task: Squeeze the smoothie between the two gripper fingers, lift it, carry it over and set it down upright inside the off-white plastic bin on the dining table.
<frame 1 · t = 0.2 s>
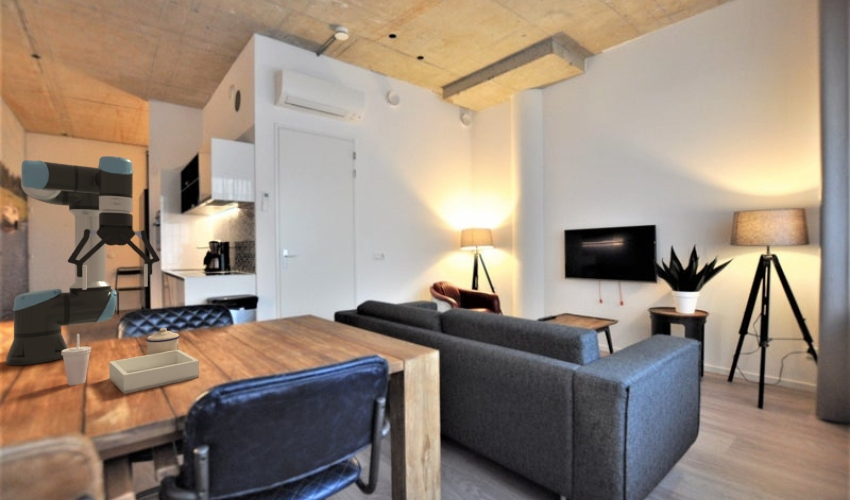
hand: (116, 287, 111), 27 cm above the table, fingers open, 13 cm apart
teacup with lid: (161, 363, 131), on the table
bin: (154, 377, 116), on the table
smoothie: (76, 383, 111), on the table
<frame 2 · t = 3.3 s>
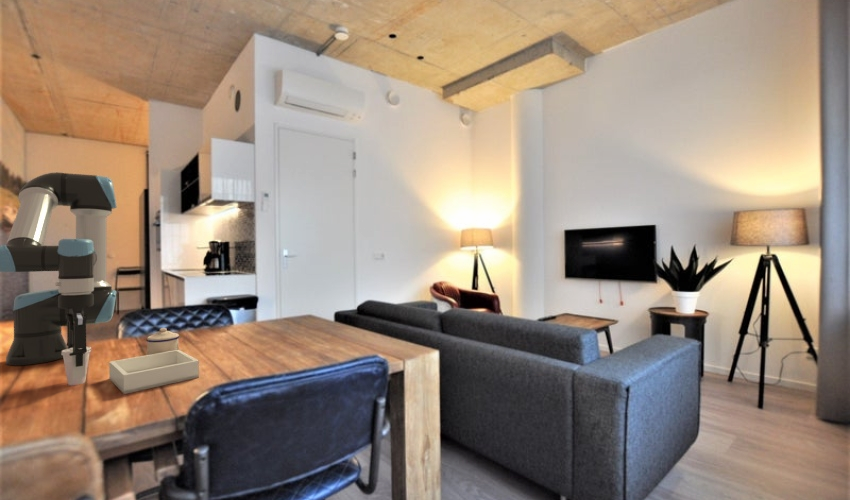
hand: (76, 374, 111), 2 cm above the table, fingers closed on smoothie, 6 cm apart
smoothie: (76, 383, 111), on the table, touching gripper
everything else where it was.
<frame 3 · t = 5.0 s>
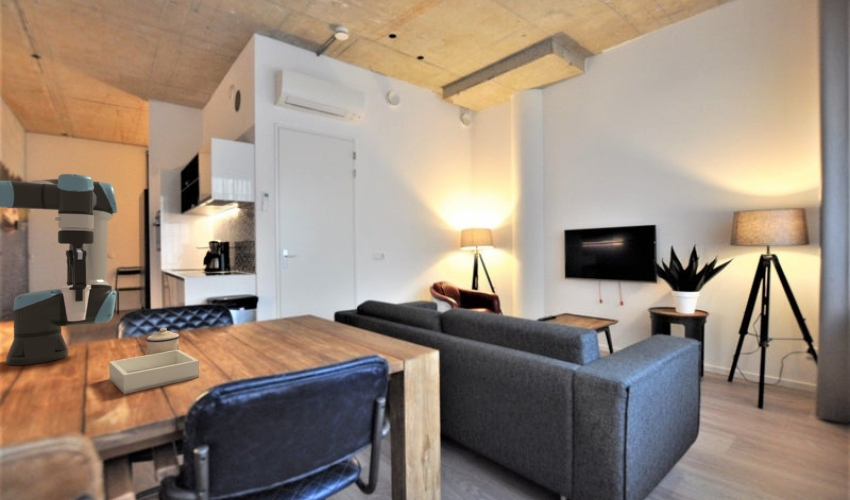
hand: (76, 311, 111), 20 cm above the table, fingers closed on smoothie, 6 cm apart
smoothie: (76, 320, 111), point 18 cm above the table, touching gripper
everything else where it was.
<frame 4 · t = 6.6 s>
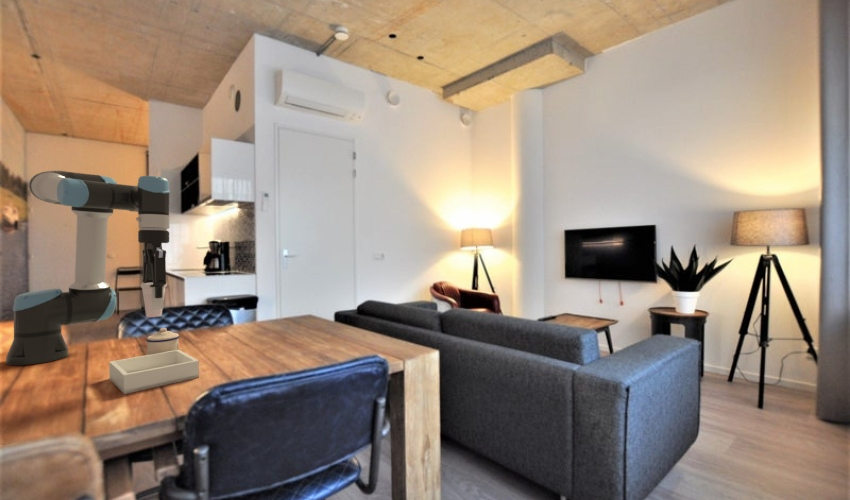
hand: (154, 307, 116), 21 cm above the table, fingers closed on smoothie, 6 cm apart
smoothie: (153, 316, 116), point 18 cm above the table, touching gripper
everything else where it was.
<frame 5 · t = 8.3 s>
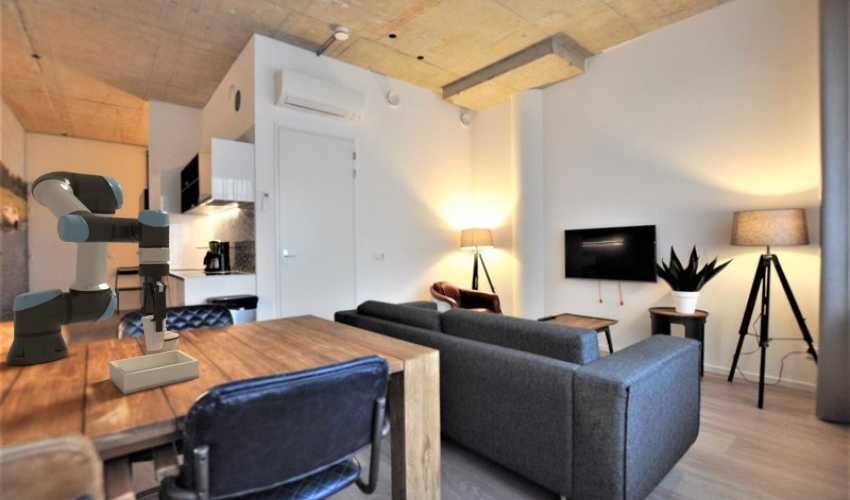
hand: (154, 340, 116), 11 cm above the table, fingers closed on smoothie, 6 cm apart
smoothie: (154, 349, 116), point 8 cm above the table, touching gripper
everything else where it was.
when the fingers open (5 cm above the table, at t = 9.8 s): smoothie drops 2 cm, resting on bin.
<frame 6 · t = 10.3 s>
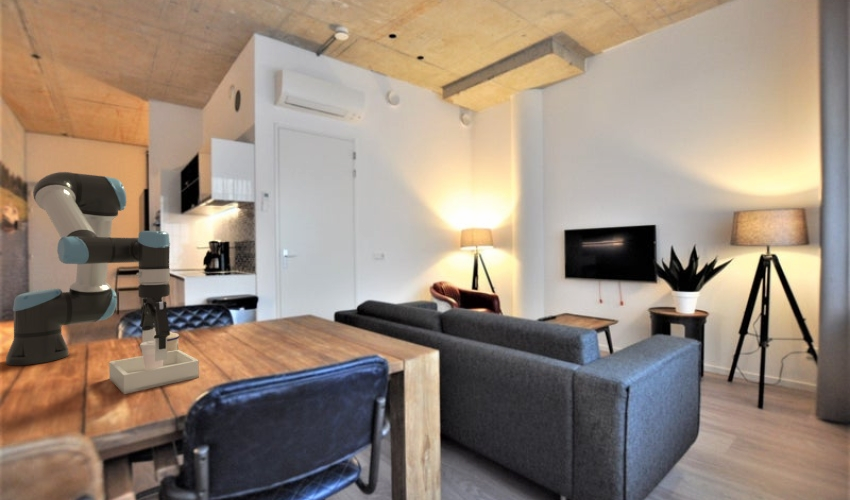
hand: (154, 355, 116), 7 cm above the table, fingers open, 13 cm apart
smoothie: (154, 375, 116), point 1 cm above the table, touching bin
everything else where it was.
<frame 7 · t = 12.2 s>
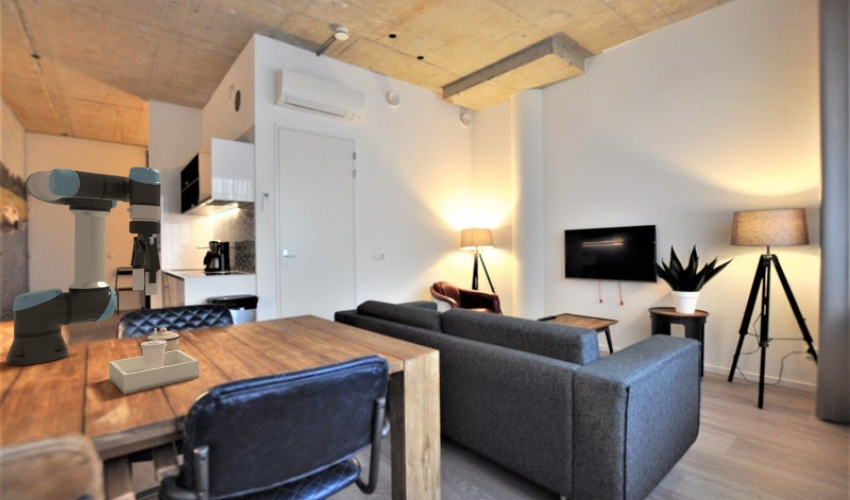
hand: (144, 292, 117), 25 cm above the table, fingers open, 13 cm apart
nothing on the table moved.
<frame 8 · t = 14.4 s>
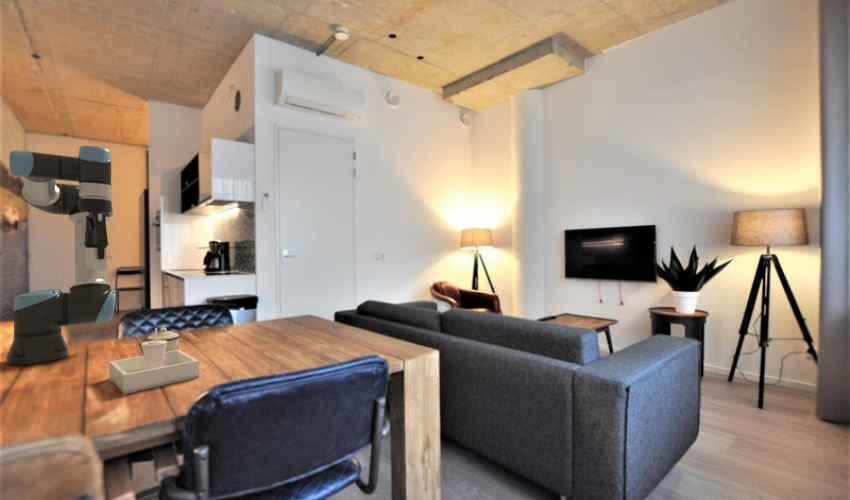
hand: (95, 269, 118), 32 cm above the table, fingers open, 13 cm apart
nothing on the table moved.
at the end: smoothie inside the target area on the bin (0.0 cm from its centre), point 0.6 cm above the bin's base; smoothie tilted 0°; the gripper is holding nothing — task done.
